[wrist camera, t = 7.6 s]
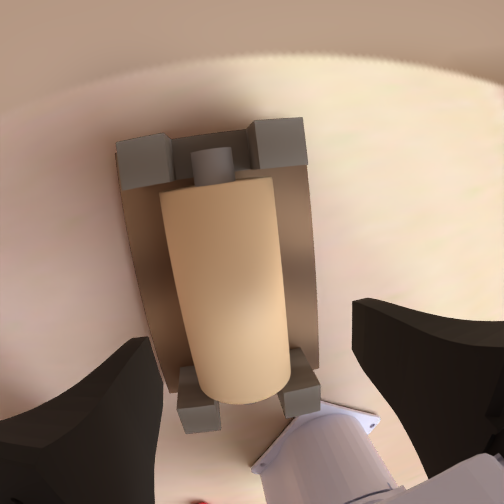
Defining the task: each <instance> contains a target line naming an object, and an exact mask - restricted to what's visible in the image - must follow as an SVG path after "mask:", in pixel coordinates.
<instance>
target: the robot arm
mask: <svg viewBox="0 0 504 504" xmlns="http://www.w3.org/2000/svg"><path fill="white" fill-rule="evenodd" d="M352 351H353V353H354V355H355V356H356V358H357V360H358V362H359V364H360V366H361V368H362V369H363V371H364V372H365V373H366V375H367V376H368V377H369V379H370V380H371V381H372V383H373V384H374V385H375V387H376V388H377V389H378V391H379V392H380V393H381V394H382V396H383V397H384V398H385V400H386V401H387V402H388V404H389V405H390V406H391V408H392V409H393V410H394V412H395V413H396V415H397V416H398V418H399V420H400V422H401V423H402V425H403V427H404V429H405V430H406V432H407V434H408V436H409V438H410V440H411V442H412V444H413V446H414V448H415V450H416V452H417V454H418V456H419V458H420V461H421V463H422V465H423V467H424V470H425V472H426V474H427V477H428V480H426V481H424V482H422V483H420V484H418V485H416V486H414V487H412V488H410V489H408V490H406V489H405V487H404V486H403V485H402V486H400V487H399V486H398V485H397V483H396V481H395V480H394V478H393V476H392V475H391V473H390V471H389V470H388V468H387V466H386V465H385V463H384V461H383V460H382V458H381V456H380V455H379V453H378V451H377V450H376V448H375V446H374V445H373V443H372V441H371V440H370V438H369V437H368V434H369V433H370V432H371V431H372V430H373V429H374V428H375V427H376V425H377V424H378V423H379V422H380V420H381V419H380V417H379V416H378V415H375V414H370V413H366V412H362V411H358V410H354V409H350V408H346V407H342V406H338V405H335V404H331V403H327V402H324V401H320V411H317V412H313V413H309V414H305V415H300V416H296V417H295V418H294V419H293V420H292V422H291V423H290V424H289V425H288V426H287V428H286V429H285V430H284V431H283V432H282V433H281V435H280V436H279V437H278V438H277V439H276V440H275V442H274V443H273V444H272V445H271V446H270V447H269V448H268V450H267V451H266V452H265V453H264V454H263V455H262V456H261V457H260V458H259V460H258V461H257V462H256V463H255V464H254V465H253V466H252V467H251V472H252V473H254V474H260V476H261V480H262V485H263V489H264V494H265V498H266V502H267V504H504V321H471V320H461V319H454V318H447V317H442V316H437V315H433V314H428V313H424V312H420V311H416V310H413V309H409V308H406V307H402V306H399V305H395V304H392V303H388V302H385V301H381V300H377V299H372V298H364V299H360V300H356V301H352ZM162 409H163V382H162V379H161V376H160V373H159V370H158V367H157V363H156V360H155V357H154V354H153V351H152V347H151V344H150V341H149V337H139V338H132V339H130V340H129V341H127V342H126V343H125V344H124V345H122V346H121V347H120V348H119V349H118V350H117V351H116V352H115V353H113V354H112V355H111V356H110V357H109V358H108V359H107V360H106V361H104V362H103V363H102V364H101V365H100V366H99V367H97V368H96V369H95V370H94V371H92V372H91V373H90V374H89V375H87V376H86V377H85V378H84V379H83V380H81V381H80V382H79V383H77V384H76V385H74V386H73V387H71V388H70V389H68V390H67V391H65V392H64V393H62V394H60V395H59V396H57V397H55V398H53V399H52V400H50V401H48V402H46V403H44V404H42V405H40V406H38V407H36V408H34V409H32V410H29V411H27V412H24V413H22V414H19V415H16V416H14V417H11V418H8V419H5V420H1V421H0V504H155V497H154V463H155V453H156V447H157V440H158V434H159V428H160V421H161V415H162Z"/></svg>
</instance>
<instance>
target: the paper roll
mask: <svg viewBox="0 0 504 504" xmlns="http://www.w3.org/2000/svg"><path fill="white" fill-rule="evenodd" d="M190 154H191V161H192V169H193V176H194V183H195V185H191V186H186V187H180V188H175V189H171V190H166V191H163V192H160V193H159V196H160V203H161V209H162V215H163V221H164V227H165V233H166V238H167V244H168V249H169V255H170V260H171V265H172V270H173V275H174V280H175V285H176V289H177V294H178V299H179V303H180V308H181V312H182V317H183V321H184V325H185V330H186V334H187V338H188V342H189V346H190V350H191V354H192V358H193V362H194V366H195V370H196V374H197V377H198V381H199V385H200V387H201V389H202V391H203V392H204V393H205V394H206V395H207V396H208V397H210V398H212V399H214V400H216V401H219V402H222V403H227V404H244V405H247V404H253V403H256V402H258V401H262V400H264V399H267V398H269V397H271V396H273V395H275V394H276V393H278V392H279V391H280V390H281V389H282V388H283V387H284V386H285V385H286V384H287V382H288V381H289V378H290V375H291V366H290V354H289V341H288V329H287V318H286V307H285V296H284V285H283V274H282V264H281V254H280V244H279V235H278V225H277V216H276V207H275V198H274V189H273V180H272V176H263V177H250V178H240V179H235V173H234V165H233V157H232V149H231V147H222V148H213V149H206V150H201V151H196V152H192V153H190Z"/></svg>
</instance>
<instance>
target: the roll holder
mask: <svg viewBox="0 0 504 504" xmlns="http://www.w3.org/2000/svg"><path fill="white" fill-rule="evenodd" d="M222 147H231V149H232V157H233V165H234V173H235V179H240V178H250V177H263V176H272V180H273V189H274V198H275V207H276V216H277V225H278V235H279V244H280V254H281V264H282V274H283V285H284V296H285V307H286V318H287V329H288V341H289V354H290V366H291V375H290V378H289V381H288V382H287V384H286V385H285V386H284V387H283V388H282V389H281V390H280V391H279V392H278V393H277V394H278V397H279V400H280V403H281V406H282V409H283V412H284V415H285V418H286V419H287V418H292V417H296V416H300V415H305V414H309V413H313V412H317V411H320V383H319V381H318V379H317V377H316V375H315V374H314V372H313V370H314V369H318V368H319V341H318V312H317V290H316V272H315V256H314V241H313V228H312V216H311V204H310V193H309V183H308V173H307V165H308V158H307V150H306V141H305V133H304V125H303V117H298V118H281V119H268V120H256V121H254V122H253V123H252V124H251V125H250V126H249V127H248V128H247V129H245V130H236V131H227V132H219V133H211V134H204V135H197V136H190V137H184V138H178V139H172V140H171V139H170V138H169V137H168V136H167V135H166V134H165V133H160V134H154V135H149V136H144V137H139V138H134V139H129V140H124V141H120V142H116V149H117V153H115V157H116V165H117V173H118V180H119V186H120V193H121V199H122V205H123V211H124V217H125V223H126V228H127V233H128V239H129V244H130V249H131V253H132V258H133V263H134V267H135V272H136V276H137V281H138V285H139V289H140V293H141V297H142V301H143V305H144V309H145V313H146V317H147V321H148V324H149V328H150V331H151V335H152V339H153V342H154V345H155V349H156V352H157V356H158V359H159V362H160V365H161V369H162V372H163V375H164V378H165V381H166V384H167V387H168V390H169V393H176V392H178V399H177V411H178V414H179V417H180V420H181V422H182V425H183V428H184V431H185V433H186V434H190V433H200V432H209V431H217V430H221V422H220V412H219V401H216V400H214V399H212V398H210V397H208V396H207V395H206V394H205V393H204V392H203V391H202V389H201V387H200V385H199V381H198V377H197V374H196V370H195V366H194V362H193V358H192V354H191V350H190V346H189V342H188V338H187V334H186V330H185V325H184V321H183V317H182V312H181V308H180V303H179V299H178V294H177V289H176V285H175V280H174V275H173V270H172V265H171V260H170V255H169V249H168V244H167V238H166V233H165V227H164V221H163V215H162V209H161V203H160V196H159V193H160V192H163V191H166V190H171V189H175V188H180V187H186V186H191V185H195V183H194V176H193V169H192V161H191V154H190V153H192V152H196V151H201V150H206V149H213V148H222Z"/></svg>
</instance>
